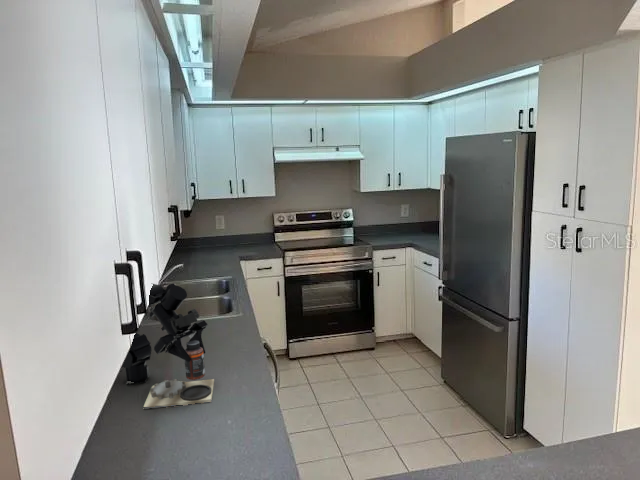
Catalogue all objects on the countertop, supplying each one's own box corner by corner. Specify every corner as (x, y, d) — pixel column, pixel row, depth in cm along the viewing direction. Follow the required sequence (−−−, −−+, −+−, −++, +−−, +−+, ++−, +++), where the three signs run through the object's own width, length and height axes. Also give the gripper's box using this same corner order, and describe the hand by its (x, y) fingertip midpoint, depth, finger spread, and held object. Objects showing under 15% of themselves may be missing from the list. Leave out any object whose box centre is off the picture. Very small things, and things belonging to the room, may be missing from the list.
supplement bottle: (209, 374, 153) (206, 340, 151) (195, 382, 148) (192, 347, 146) (196, 371, 156) (193, 337, 154) (181, 378, 151) (179, 343, 149)
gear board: (143, 409, 145) (142, 397, 145) (152, 388, 159) (151, 377, 159) (211, 402, 148) (210, 390, 147) (214, 381, 162) (213, 370, 162)
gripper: (157, 312, 142) (187, 354, 138) (201, 295, 158) (230, 333, 154) (141, 333, 147) (170, 374, 143) (185, 315, 163) (212, 352, 159)
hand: (197, 357), depth 150 cm, fingers closed on supplement bottle, 6 cm apart
